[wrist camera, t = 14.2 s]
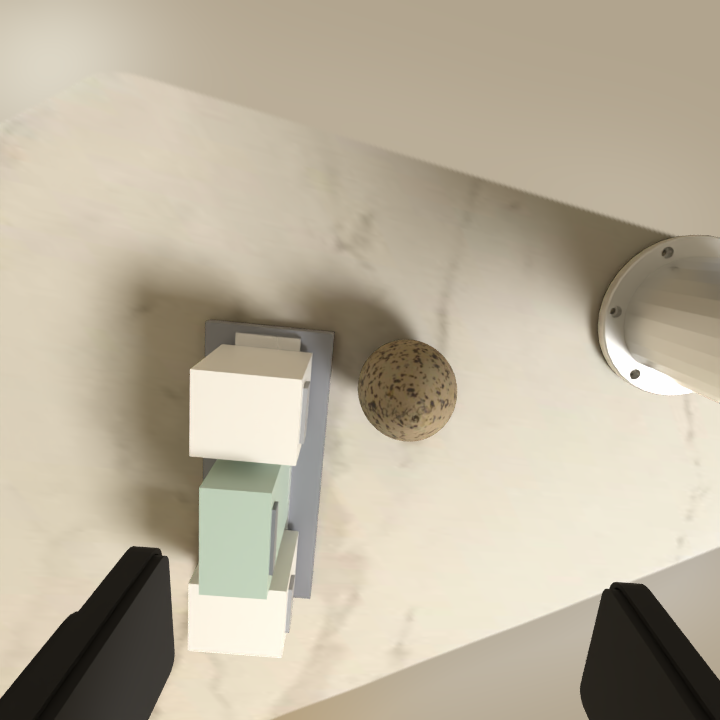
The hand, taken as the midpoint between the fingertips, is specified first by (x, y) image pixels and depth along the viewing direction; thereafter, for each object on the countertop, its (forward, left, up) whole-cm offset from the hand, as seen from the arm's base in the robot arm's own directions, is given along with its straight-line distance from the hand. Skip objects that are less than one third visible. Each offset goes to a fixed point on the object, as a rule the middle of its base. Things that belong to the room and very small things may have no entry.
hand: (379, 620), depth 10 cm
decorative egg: (-3, +2, -28) cm, 28 cm away
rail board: (+7, +12, -28) cm, 31 cm away
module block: (+7, +12, -26) cm, 30 cm away
